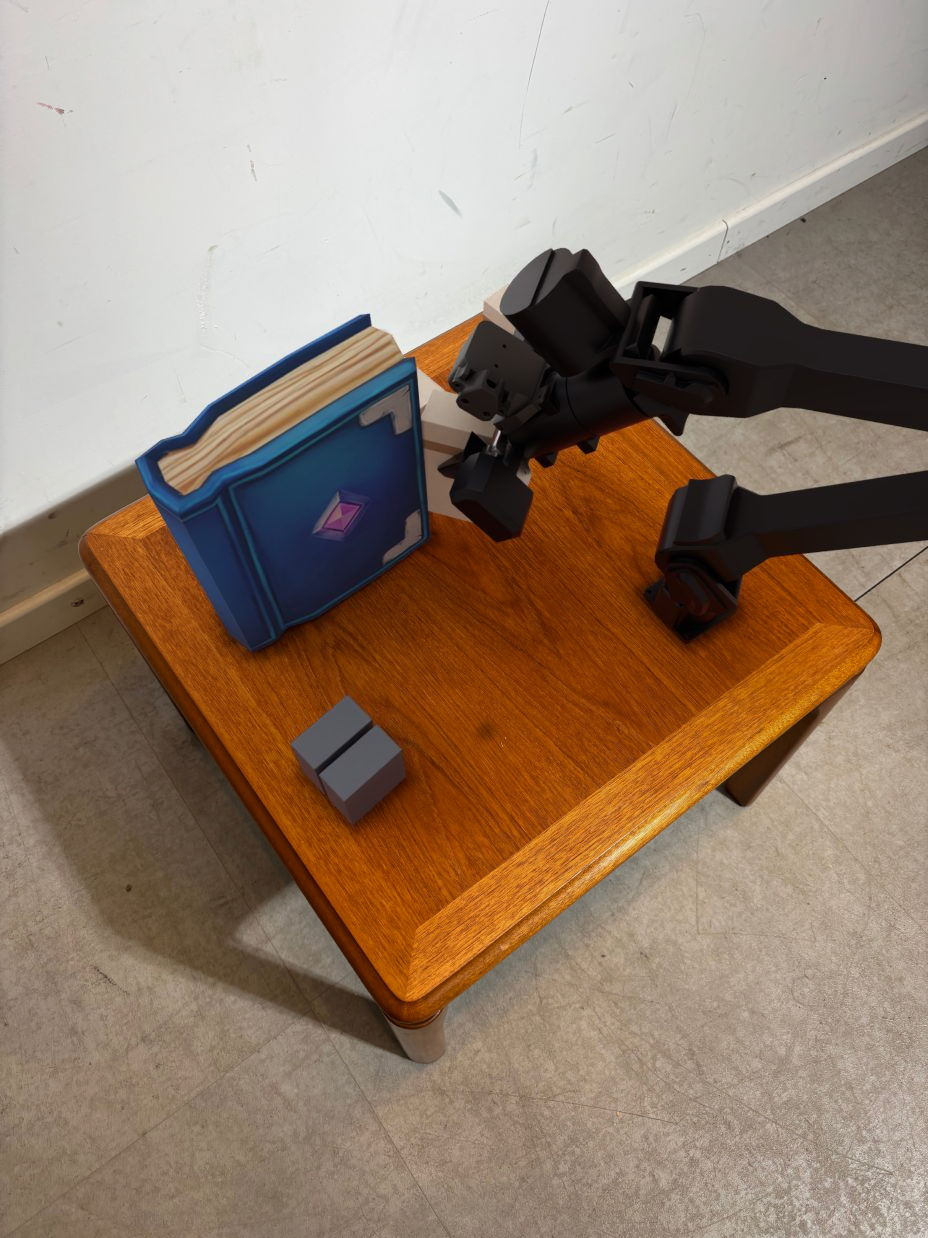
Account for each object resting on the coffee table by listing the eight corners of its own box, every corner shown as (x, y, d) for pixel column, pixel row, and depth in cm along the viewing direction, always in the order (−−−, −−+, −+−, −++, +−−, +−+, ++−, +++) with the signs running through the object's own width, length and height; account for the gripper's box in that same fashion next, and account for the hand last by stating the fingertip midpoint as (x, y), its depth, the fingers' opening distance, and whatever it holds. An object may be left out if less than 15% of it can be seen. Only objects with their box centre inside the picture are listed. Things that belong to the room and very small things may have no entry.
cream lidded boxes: (542, 386, 96) (551, 315, 87) (421, 476, 91) (418, 410, 82) (502, 355, 98) (507, 282, 89) (382, 441, 93) (374, 373, 84)
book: (246, 671, 80) (168, 513, 58) (204, 616, 83) (114, 445, 61) (435, 542, 87) (429, 356, 65) (390, 495, 90) (371, 300, 67)
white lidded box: (499, 497, 82) (505, 405, 71) (489, 527, 81) (492, 437, 70) (437, 481, 83) (433, 387, 72) (425, 510, 82) (419, 419, 71)
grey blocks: (355, 725, 78) (347, 694, 72) (406, 777, 76) (402, 749, 70) (302, 771, 76) (289, 743, 70) (352, 826, 74) (344, 802, 68)
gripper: (557, 230, 65) (418, 312, 76) (480, 422, 57) (337, 482, 68) (643, 336, 71) (503, 397, 82) (585, 524, 63) (437, 564, 74)
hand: (448, 454), depth 76 cm, fingers closed on white lidded box, 3 cm apart
